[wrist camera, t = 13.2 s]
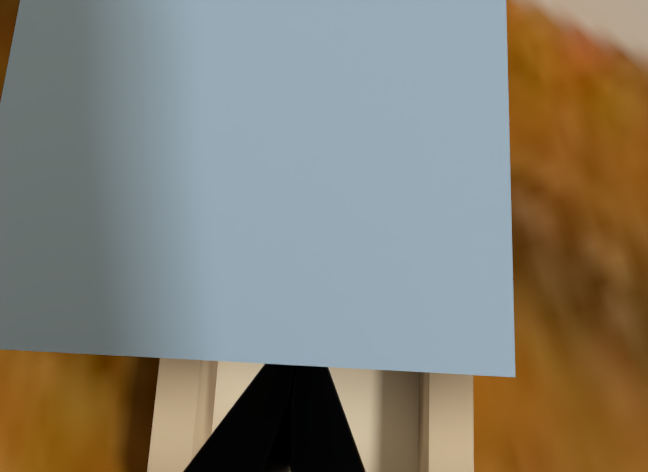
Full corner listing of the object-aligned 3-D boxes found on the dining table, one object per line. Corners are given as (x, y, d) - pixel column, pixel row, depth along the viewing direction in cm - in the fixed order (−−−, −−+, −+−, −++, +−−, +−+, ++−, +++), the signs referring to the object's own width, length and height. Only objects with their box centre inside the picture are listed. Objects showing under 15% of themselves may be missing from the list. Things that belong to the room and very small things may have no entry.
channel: (449, 581, 16) (514, 734, 10) (172, 560, 16) (68, 694, 10) (449, 142, 19) (500, 48, 13) (215, 135, 19) (154, 40, 13)
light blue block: (385, 346, 16) (515, 377, 4) (248, 339, 16) (-47, 346, 4) (389, 197, 17) (502, -159, 5) (259, 192, 17) (51, -158, 5)
